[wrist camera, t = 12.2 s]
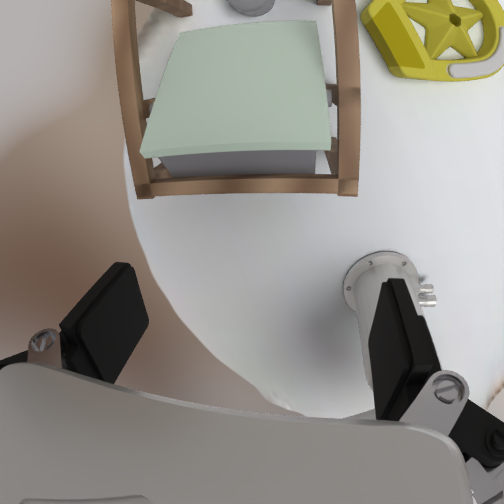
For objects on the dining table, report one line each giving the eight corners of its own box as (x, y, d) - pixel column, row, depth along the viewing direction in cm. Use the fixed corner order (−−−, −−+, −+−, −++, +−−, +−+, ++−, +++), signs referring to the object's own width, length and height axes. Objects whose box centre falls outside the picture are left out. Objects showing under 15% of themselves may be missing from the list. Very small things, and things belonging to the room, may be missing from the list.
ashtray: (342, -7, 27) (347, -18, 22) (461, -38, 19) (477, -46, 15) (404, 103, 33) (417, 106, 29) (512, 63, 25) (531, 65, 21)
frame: (329, -6, 27) (347, -57, 13) (336, 149, 38) (357, 196, 24) (180, 7, 30) (110, -22, 16) (194, 152, 41) (137, 199, 26)
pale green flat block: (319, 55, 29) (319, 20, 24) (331, 178, 24) (337, 142, 20) (189, 64, 31) (176, 33, 26) (160, 181, 27) (134, 152, 22)
